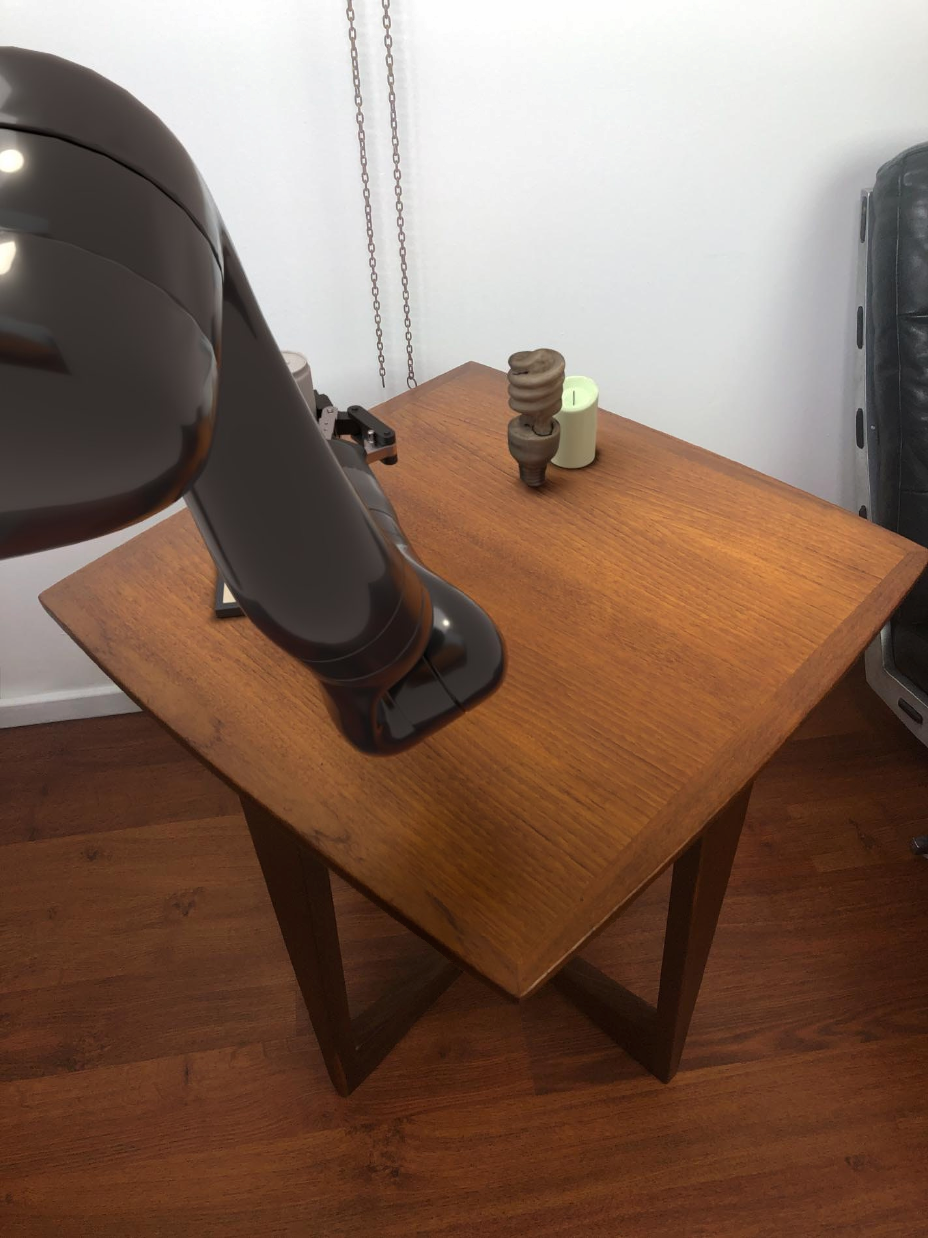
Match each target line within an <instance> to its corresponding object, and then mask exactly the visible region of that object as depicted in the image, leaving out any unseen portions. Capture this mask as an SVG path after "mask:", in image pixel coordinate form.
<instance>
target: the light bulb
mask: <svg viewBox="0 0 928 1238" xmlns="http://www.w3.org/2000/svg"><path fill="white" fill-rule="evenodd" d="M507 364H508V366H509V367H510V369H508V372H507V376H506V377H507V381H508V382H509V384H508V386H507V394H508V396H510V397H509V399H508V401H507V402H508V404H507V405H508V407H509V408H510V409H511V410H512V411H513V412H516V413H518V415H516V416H515V417H513V418H512V419H510V421H509V422H508V424H507V434H506V435H507V436H506V437H507V446H508V451H509V454H510V455H511V457H512V458H513V459H514V460H515V462H516V463H517V464H518V472H519V480H521V481H522V482H523V483H524V484H525V485H528V486H531V488H534V487H535V488H536V487H540V486H541V485H543V484H545V482H546V478H547V475H546V474H547V473H546V472H547V469H548V464H549V463H550V462H551V459H552V458H553V457H554V456H555V455H556V453H557V451H558V448H559V442H560V430H561V426H560V423H559V422H558V421H557V420H556V419H555V418H554V417H552V416H554V415H555V414H557V413H558V412H559V411H560V410H561V408H562V394H563V383H564V380H565V378H566V373H565V369H566V359H565V356H564V355H563V354H562V353H561V352H559V351H557V350H555V349H553V348H545V347H541V348H536V349H534V350H522V351H517V352H515V353H512V354H511V355H510V356H509V357H508V360H507Z"/></svg>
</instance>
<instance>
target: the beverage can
mask: <svg viewBox="0 0 928 1238" xmlns="http://www.w3.org/2000/svg"><path fill="white" fill-rule="evenodd" d="M280 351H281V353H282V355H283V357H284V359H285V361H286V363H287V365H288V367H289V369H290V371H291V373H292V375H293V377H294V379H295V381H296V382H297V384H298V386H299V388H300V390H301V392H302V394H303V396H304V398H305V400H306V402H307V404H308V406H309V408H310V410H311V412H312V414H313V416H314V418H315V420H316V421H317V423H318V416H317V409H316V402H315V396H314V390H315V388H314V383H313V376H312V370H311V366H310V365H309V363H308V358H307V356H306V355H305V354H303V353H302V352H299V351H296V350H290V349H289V350H288V349H280Z"/></svg>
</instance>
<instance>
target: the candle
mask: <svg viewBox="0 0 928 1238" xmlns="http://www.w3.org/2000/svg"><path fill="white" fill-rule="evenodd" d="M599 392H600V391H599V387H598V385H597V383H596V382H595V381H594V380H593V379H591V378H589V377H588V376H583V375H569V376H567V377H566V376H565V380H564V383H563V394H562V408H561V410H560V411H559V412H558V413H557V414H555V415H554V416H552V417H554V418H555V419H556V420H557V421H558V422H559V423H560V426H561V430H560V442H559V448H558V451H557V453H556V455H555V456H554V457H553V458H552V459H551V461H550V462H551V463H552V464H554V465H555V466H558V467H561V468H564V469H578V468H583V467H586V466H588V465H590V464H591V463H592V462H593V461H594V460H595V457H596V445H597V444H596V443H597V442H596V441H597V427H598V412H599V411H598V409H599V396H600V395H599V394H600V393H599Z"/></svg>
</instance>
